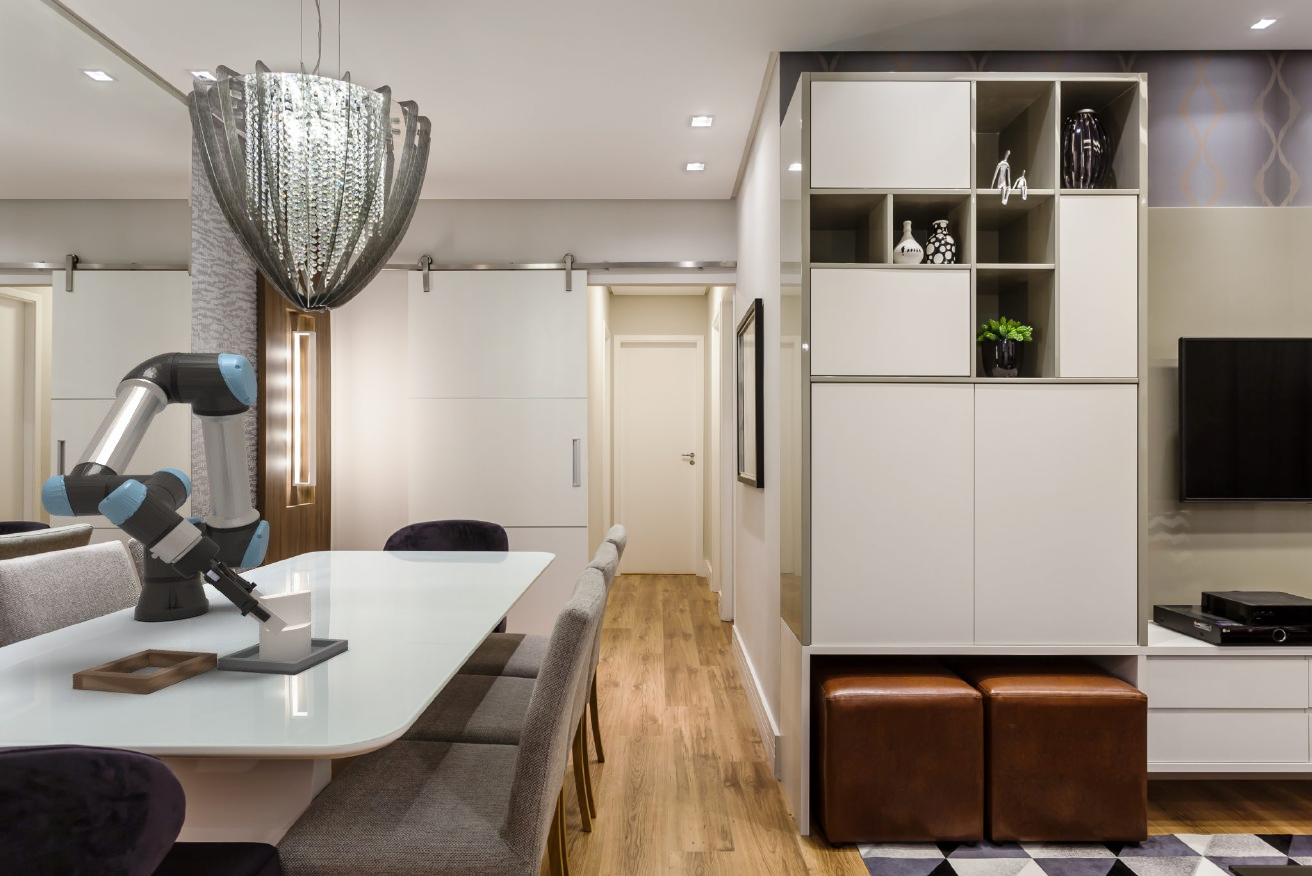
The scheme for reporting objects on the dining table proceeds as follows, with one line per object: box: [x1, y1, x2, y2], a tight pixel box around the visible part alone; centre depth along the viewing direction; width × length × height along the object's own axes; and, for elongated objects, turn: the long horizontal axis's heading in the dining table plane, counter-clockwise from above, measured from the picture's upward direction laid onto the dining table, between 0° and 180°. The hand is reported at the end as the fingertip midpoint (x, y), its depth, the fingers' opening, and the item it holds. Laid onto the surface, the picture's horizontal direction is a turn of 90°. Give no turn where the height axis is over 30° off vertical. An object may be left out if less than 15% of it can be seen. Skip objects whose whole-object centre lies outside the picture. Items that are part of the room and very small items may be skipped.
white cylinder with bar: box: [258, 589, 312, 661], centre depth 141 cm, size 9×9×12 cm
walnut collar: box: [72, 648, 218, 695], centre depth 130 cm, size 15×15×2 cm
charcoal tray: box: [217, 637, 349, 676], centre depth 141 cm, size 16×16×2 cm
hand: (278, 621), depth 140 cm, fingers open, 13 cm apart
